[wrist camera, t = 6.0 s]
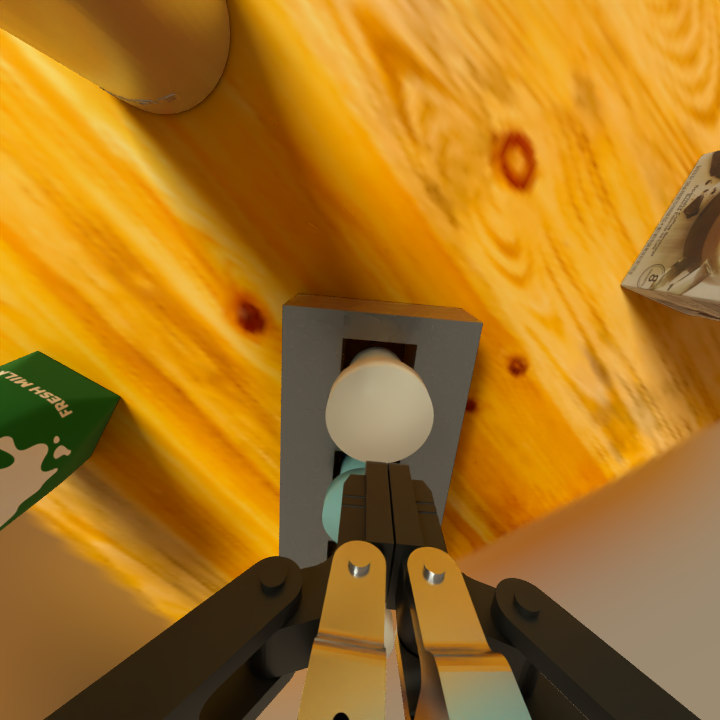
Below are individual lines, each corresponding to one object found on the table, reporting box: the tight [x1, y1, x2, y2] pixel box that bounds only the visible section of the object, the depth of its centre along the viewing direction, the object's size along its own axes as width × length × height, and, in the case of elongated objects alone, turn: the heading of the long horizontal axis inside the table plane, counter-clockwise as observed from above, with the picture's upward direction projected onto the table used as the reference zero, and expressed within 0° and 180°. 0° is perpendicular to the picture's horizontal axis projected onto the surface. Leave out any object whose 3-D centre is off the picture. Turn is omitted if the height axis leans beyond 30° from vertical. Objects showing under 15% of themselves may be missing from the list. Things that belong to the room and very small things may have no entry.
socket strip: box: [279, 294, 483, 603], centre depth 27 cm, size 24×12×5 cm, turn 175°
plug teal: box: [322, 452, 366, 543], centre depth 24 cm, size 5×5×6 cm
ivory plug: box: [326, 347, 434, 463], centre depth 19 cm, size 5×5×6 cm
